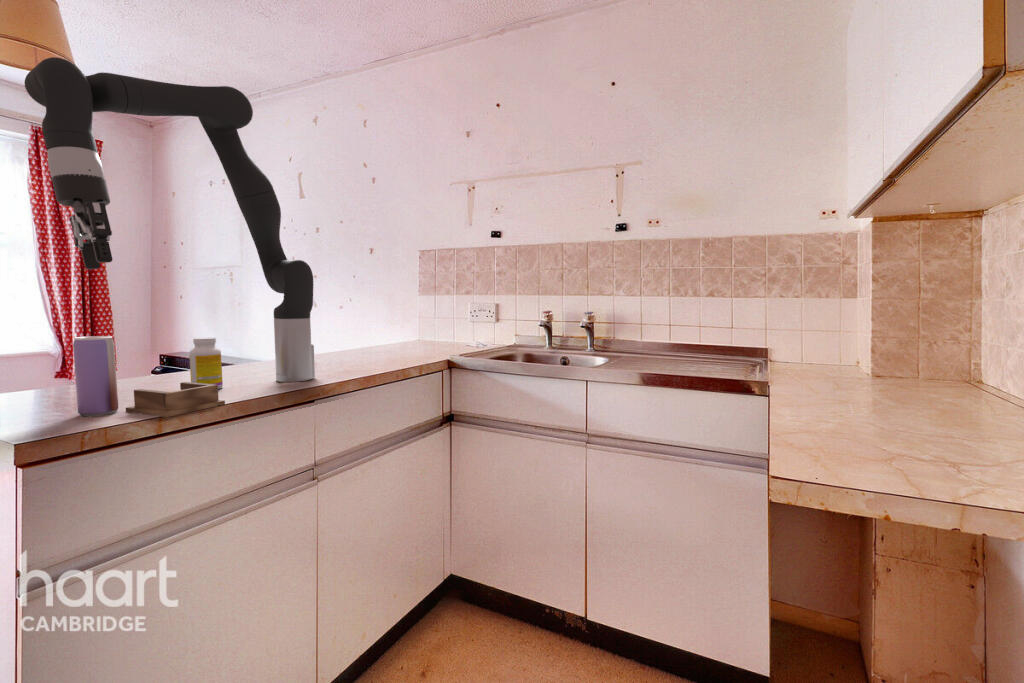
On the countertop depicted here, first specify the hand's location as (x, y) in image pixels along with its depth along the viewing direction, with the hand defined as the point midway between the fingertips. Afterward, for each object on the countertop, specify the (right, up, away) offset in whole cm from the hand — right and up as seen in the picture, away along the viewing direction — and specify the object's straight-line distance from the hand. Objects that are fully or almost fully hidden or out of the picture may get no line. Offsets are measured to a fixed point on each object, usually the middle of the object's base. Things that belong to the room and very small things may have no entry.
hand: (98, 265), depth 90 cm
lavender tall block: (-3, -29, +3) cm, 29 cm away
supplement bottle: (+2, -26, +29) cm, 40 cm away
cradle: (+9, -28, +8) cm, 30 cm away
